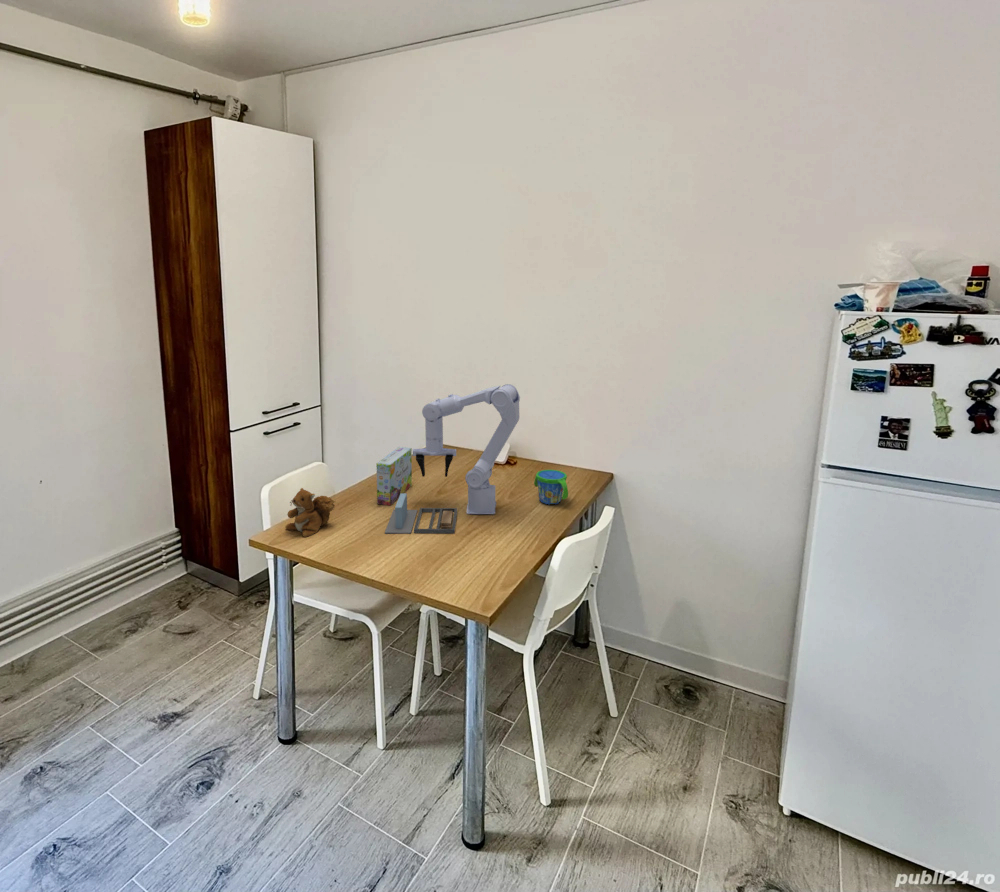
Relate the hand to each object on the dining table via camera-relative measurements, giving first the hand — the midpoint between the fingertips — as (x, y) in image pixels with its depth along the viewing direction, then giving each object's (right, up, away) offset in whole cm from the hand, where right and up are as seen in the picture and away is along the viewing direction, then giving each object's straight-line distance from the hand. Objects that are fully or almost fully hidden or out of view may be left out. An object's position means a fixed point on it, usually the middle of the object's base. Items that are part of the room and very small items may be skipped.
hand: (434, 475), depth 202 cm
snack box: (-15, -8, +11) cm, 21 cm away
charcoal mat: (-9, -14, -12) cm, 21 cm away
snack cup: (+40, -10, +7) cm, 41 cm away
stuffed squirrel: (-36, -16, -17) cm, 43 cm away
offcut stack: (+5, -14, -11) cm, 19 cm away
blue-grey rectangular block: (-9, -14, -12) cm, 20 cm away
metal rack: (+2, -14, -11) cm, 18 cm away
